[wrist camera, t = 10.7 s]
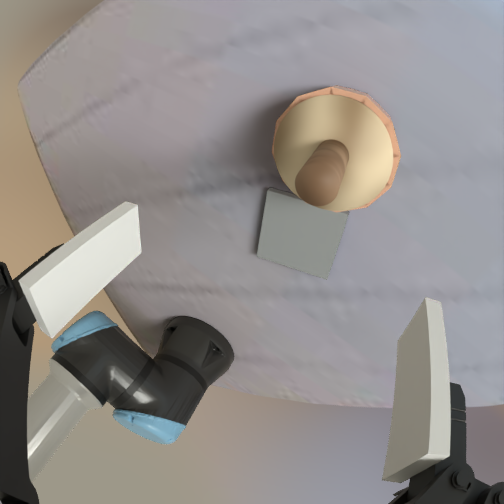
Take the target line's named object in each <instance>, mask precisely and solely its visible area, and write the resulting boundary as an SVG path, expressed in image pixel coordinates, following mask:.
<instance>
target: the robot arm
mask: <svg viewBox="0 0 504 504" xmlns="http://www.w3.org/2000/svg"><path fill="white" fill-rule="evenodd" d="M141 253H142V252H141V241H140V230H139V217H138V205H136V204H133V203H129V202H126V201H125V202H124V203H122V204H121V205H119V206H118V207H116V208H115V209H113V210H112V211H110V212H109V213H107V214H106V215H104V216H103V217H102V218H100V219H99V220H97V221H96V222H94V223H93V224H91V225H90V226H89V227H87V228H86V229H84V230H83V231H82V232H80V233H79V234H77V235H76V236H75V237H73V238H72V239H71V240H70V241H68V242H67V243H65V244H61V245H59V246H57V247H55V248H53V249H51V250H50V251H49V252H48V253H46V254H45V256H42V257H41V258H40V259H38V261H36V262H34V263H33V264H32V265H31V266H29V267H28V268H27V269H26V270H24V271H23V272H22V273H21V274H20V275H18V276H17V277H16V278H15V279H13V280H12V278H11V276H10V273H9V271H8V268H7V266H6V264H5V263H3V262H0V504H39V499H38V495H37V492H36V489H35V488H34V486H33V484H32V483H33V481H34V480H35V479H36V477H37V476H38V475H39V473H40V472H41V471H42V469H43V468H44V467H45V465H46V464H47V463H48V461H49V460H50V459H51V457H52V456H53V455H54V453H55V452H56V451H57V449H58V448H59V447H60V446H61V444H62V443H63V442H64V440H65V439H66V438H67V436H68V435H69V434H70V433H71V431H72V430H73V429H74V427H75V426H76V424H77V423H78V422H79V421H80V420H81V418H82V417H83V416H84V415H85V413H86V412H87V411H88V410H89V409H99V408H102V407H103V405H104V404H105V403H106V402H109V403H110V404H111V405H112V406H113V407H114V408H115V410H114V411H113V417H114V418H115V420H117V421H118V422H119V423H120V424H121V425H123V426H124V427H126V428H127V429H129V430H130V431H132V432H134V433H136V434H138V435H140V436H142V437H144V438H146V439H149V440H152V441H154V442H157V443H161V444H170V443H173V442H174V441H176V439H177V438H178V436H179V435H180V433H181V432H182V431H183V429H185V428H186V425H187V423H188V421H189V419H190V418H191V416H192V414H193V412H194V411H195V409H196V407H197V405H198V404H199V402H200V400H201V398H202V397H203V395H204V393H205V391H206V390H207V388H208V387H209V386H210V385H211V384H212V383H213V382H215V381H216V380H217V379H218V378H219V377H221V376H222V375H223V374H224V373H225V372H226V371H227V370H228V369H229V367H230V366H231V364H232V362H233V360H234V353H233V349H232V347H231V345H230V344H229V342H228V341H227V340H226V339H225V337H224V336H223V335H222V334H221V333H219V332H218V331H217V330H216V329H214V328H213V327H211V326H210V325H208V324H206V323H204V322H202V321H200V320H198V319H195V318H191V317H176V318H174V319H173V320H171V322H170V323H169V324H168V325H167V327H166V328H165V330H164V333H163V336H162V340H161V343H160V346H159V350H158V353H157V355H156V356H155V357H154V359H152V358H151V357H150V356H149V355H147V354H146V353H145V352H144V351H143V350H142V349H141V348H140V347H139V346H138V345H137V344H135V343H134V342H133V341H132V340H131V339H130V338H129V337H128V336H127V335H126V334H125V333H124V332H123V331H122V330H121V329H120V328H119V327H118V325H117V324H116V323H114V322H113V321H112V320H110V319H109V318H108V317H107V316H106V315H105V314H104V313H102V312H100V311H93V312H90V313H88V314H87V315H85V316H84V317H82V318H81V319H79V320H78V321H77V322H75V323H74V324H73V325H71V326H70V327H69V328H68V329H67V330H65V331H64V332H63V334H62V335H60V336H59V337H58V338H57V339H56V340H55V341H54V342H53V344H52V347H51V348H52V350H53V352H54V353H55V355H54V356H53V357H52V358H51V359H50V360H49V364H50V374H49V375H48V376H47V378H46V379H45V380H44V381H43V382H42V383H41V384H40V386H39V387H38V388H37V389H36V390H35V391H34V393H33V394H32V395H31V396H30V397H29V399H28V384H29V371H30V361H31V352H32V343H33V336H34V326H33V324H34V323H35V322H36V321H37V323H38V325H39V327H40V329H41V331H43V332H44V333H45V334H46V335H48V336H49V337H51V338H53V337H54V336H55V335H56V334H57V333H58V332H59V331H60V330H61V329H62V328H63V327H64V326H65V325H66V324H67V323H68V322H69V321H70V320H71V319H72V318H73V317H74V316H75V315H76V314H77V313H78V312H79V311H80V310H81V309H82V308H83V307H84V306H85V305H86V304H87V303H88V302H89V301H90V300H91V299H92V298H93V297H94V296H95V295H96V294H97V293H99V291H100V290H102V289H103V288H104V287H105V286H106V285H107V284H108V283H109V282H110V281H111V280H112V279H113V278H114V277H115V276H117V275H118V274H119V273H120V272H121V271H122V270H123V269H124V268H125V267H126V266H127V265H128V264H130V263H131V262H132V261H133V260H134V259H135V258H136V257H137V256H138V255H140V254H141ZM465 408H466V407H465V396H464V394H463V391H462V389H461V386H460V385H459V384H455V383H450V380H449V365H448V354H447V344H446V335H445V327H444V320H443V313H442V306H441V302H439V301H436V300H433V299H430V298H427V297H425V299H424V300H423V302H422V304H421V305H420V307H419V309H418V310H417V312H416V314H415V315H414V317H413V318H412V320H411V322H410V323H409V325H408V326H407V328H406V329H405V331H404V332H403V334H402V335H401V337H400V338H399V340H398V346H397V367H396V381H395V393H394V403H393V413H392V421H391V429H390V436H389V443H388V449H387V455H386V461H385V466H384V472H383V477H382V480H384V481H391V482H398V483H402V482H404V481H406V480H408V479H410V483H409V487H407V488H405V489H402V490H400V491H398V492H396V493H395V494H393V495H394V496H397V495H398V496H397V497H396V498H394V499H393V500H392V501H391V502H390V503H389V504H504V482H499V483H496V484H494V485H492V486H489V485H487V484H485V483H483V482H481V481H479V480H477V479H475V477H474V472H473V470H472V468H471V467H470V466H469V465H468V464H467V463H466V423H465V421H466V413H465V410H466V409H465Z"/></svg>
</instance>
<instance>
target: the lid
mask: <svg viewBox="0 0 504 504" xmlns="http://www.w3.org/2000/svg"><path fill="white" fill-rule="evenodd" d="M274 157H275V162H276V166H277V169H278V171H279V173H280V176H281V177H282V179H283V181H284V182H285V184H286V185H287V186H288V188H289V189H290V190H291V191H292V192H293V193H294V194H295V195H297V196H298V197H299V198H300V199H302V200H303V201H305V202H306V203H308V204H310V205H312V206H315V207H318V208H321V209H325V210H331V211H346V210H351V209H356V208H358V207H361V206H363V205H365V204H367V203H369V202H370V201H371V200H373V199H374V198H375V197H376V196H377V195H378V194H379V193H380V192H381V191H382V190H383V188H384V187H385V185H386V184H387V182H388V180H389V177H390V175H391V171H392V167H393V148H392V143H391V139H390V136H389V133H388V131H387V129H386V127H385V125H384V124H383V122H382V121H381V119H380V118H379V117H378V116H377V115H376V113H375V112H374V111H372V110H371V109H370V108H369V107H368V106H366V105H365V104H363V103H361V102H359V101H357V100H355V99H353V98H350V97H347V96H342V95H333V94H328V95H320V96H315V97H313V98H310V99H307V100H305V101H303V102H301V103H299V104H298V105H296V106H295V107H294V108H292V109H291V110H290V111H289V112H288V113H287V114H286V116H285V117H284V118H283V120H282V121H281V123H280V125H279V127H278V130H277V132H276V136H275V140H274Z"/></svg>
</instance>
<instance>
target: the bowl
mask: <svg viewBox="0 0 504 504" xmlns="http://www.w3.org/2000/svg"><path fill="white" fill-rule="evenodd" d="M328 94H333V95H342V96H347V97H350V98H353V99H355V100H357V101H359V102H361V103H363V104H365V105H366V106H368V107H369V108H370V109H371V110H372V111H374V112H375V113H376V115H377V116H378V117H379V118H380V119H381V121H382V122H383V124H384V125H385V127H386V129H387V131H388V133H389V136H390V139H391V143H392V148H393V167H392V171H391V175H390V177H389V180H388V182H387V184H386V185H385V187H384V188H383V190H382V191H381V192H380V193H379V194H378V195H377V196H376V197H375V198H374V199H373V200H371V201H370V202H369V203H367V204H365V205H363V206H361V207H358V208H356V209H359V208H365V207H368V206H369V205H370V204H372V203H373V202H374V201H375V200H376V199H378V198H379V197H380V196H381V195H382V194H384V193H385V192H386V191H387V190H388V189H389V188H391V186H392V183H393V180H394V177H395V174H396V171H397V167H398V164H399V161H400V158H401V154H400V150H399V146H398V142H397V138H396V134H395V130H394V127H393V123H392V120H391V118H390V116H389V114H388V113H387V112H386V111H385V110H384V109H383V108H382V107H381V106H380V105H379V104H378V103H377V102H376V101H375V100H374V99H372V98H371V97H370V96H369V95H368V94H367V93H364V92H360V91H358V90H355V89H351V88H346V87H342V86H338V85H335V86H332V87H328V88H324V89H321V90H317V91H314V92H310V93H307V94H304V95H301V96H298V97H297V98H296V99H295V100H294V101H293V102H292V104H291V105H290V106H289V107H288V108H287V109H286V110H285V112H284V113H283V114H282V115H281V116H280V117H279V118H278V120H277V121H276V127H275V134H274V140H275V136H276V132H277V130H278V127H279V125H280V123H281V121H282V120H283V118H284V117H285V116H286V114H287V113H288V112H289V111H290V110H291V109H292V108H294V107H295V106H296V105H298V104H299V103H301V102H303V101H305V100H307V99H310V98H313V97H315V96H320V95H328ZM274 140H273V146H272V154H273V157H274ZM274 159H275V157H274ZM281 178H282V177H281ZM282 181H283V179H282ZM283 182H284V181H283ZM284 183H285V182H284ZM304 202H305V201H304ZM305 203H306V202H305ZM307 204H308V203H307ZM351 210H354V209H351ZM330 211H331V210H330ZM346 211H348V210H346ZM333 212H342V211H333Z"/></svg>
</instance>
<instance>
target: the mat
mask: <svg viewBox="0 0 504 504" xmlns="http://www.w3.org/2000/svg"><path fill="white" fill-rule="evenodd" d="M348 215H349V211H342V212H333V211H330V210H325V209H321V208H318V207H315V206H312V205H310V204H307V203H305V202H304V201H303V200H302V199H300V198H299V197H298V196H297V195H295V194H292V193H288V192H285V191H281V190H278V189H274V188H271V187H270V188H269V189H268V190H267V196H266V202H265V208H264V214H263V221H262V227H261V233H260V239H259V245H258V251H257V257H260V258H263V259H266V260H269V261H272V262H275V263H278V264H281V265H284V266H287V267H290V268H293V269H296V270H299V271H302V272H305V273H308V274H311V275H314V276H317V277H320V278H323V279H326V280H327V278H328V275H329V272H330V269H331V266H332V264H333V261H334V258H335V255H336V252H337V249H338V246H339V243H340V240H341V237H342V234H343V231H344V228H345V225H346V221H347V218H348Z"/></svg>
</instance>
